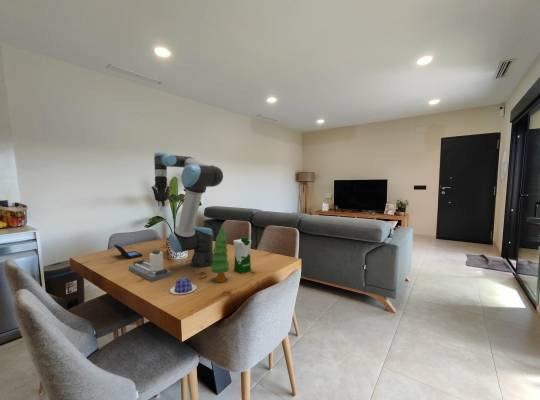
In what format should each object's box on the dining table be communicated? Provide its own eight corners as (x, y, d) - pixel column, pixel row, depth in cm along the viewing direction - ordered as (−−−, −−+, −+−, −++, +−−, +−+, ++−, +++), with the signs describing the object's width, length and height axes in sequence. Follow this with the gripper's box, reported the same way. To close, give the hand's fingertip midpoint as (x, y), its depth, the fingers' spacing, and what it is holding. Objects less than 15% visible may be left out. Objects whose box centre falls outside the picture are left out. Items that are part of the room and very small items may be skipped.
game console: (143, 256, 173) (143, 243, 172) (121, 261, 163) (121, 247, 162) (134, 252, 183) (134, 240, 183) (113, 256, 173) (113, 243, 172)
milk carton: (241, 274, 138) (241, 239, 137) (231, 270, 144) (231, 236, 143) (253, 270, 144) (253, 237, 143) (243, 267, 151) (243, 234, 150)
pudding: (195, 283, 126) (195, 273, 125) (197, 293, 114) (197, 282, 114) (170, 287, 121) (169, 276, 121) (169, 297, 110) (169, 286, 110)
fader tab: (149, 271, 134) (148, 250, 133) (159, 268, 139) (159, 248, 138) (153, 273, 131) (152, 252, 130) (164, 270, 136) (163, 249, 135)
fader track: (129, 270, 144) (128, 262, 144) (147, 265, 153) (147, 258, 153) (152, 281, 127) (151, 273, 127) (171, 275, 136) (171, 268, 135)
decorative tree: (232, 279, 130) (232, 223, 128) (218, 285, 123) (217, 225, 121) (221, 275, 136) (220, 221, 135) (206, 280, 129) (206, 223, 128)
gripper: (173, 176, 168) (173, 210, 169) (155, 176, 170) (156, 210, 171) (166, 175, 160) (167, 211, 162) (148, 175, 162) (149, 211, 163)
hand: (161, 211), depth 166 cm, fingers closed
